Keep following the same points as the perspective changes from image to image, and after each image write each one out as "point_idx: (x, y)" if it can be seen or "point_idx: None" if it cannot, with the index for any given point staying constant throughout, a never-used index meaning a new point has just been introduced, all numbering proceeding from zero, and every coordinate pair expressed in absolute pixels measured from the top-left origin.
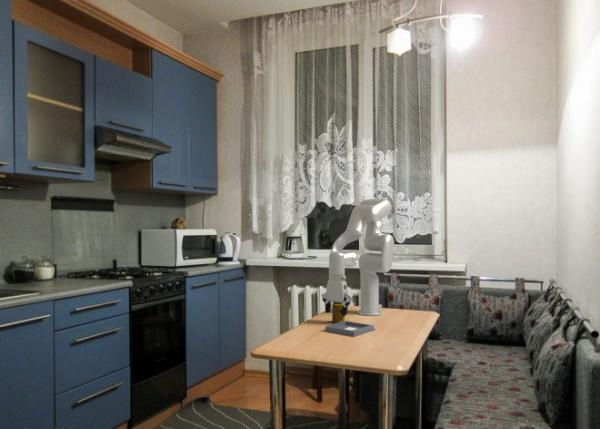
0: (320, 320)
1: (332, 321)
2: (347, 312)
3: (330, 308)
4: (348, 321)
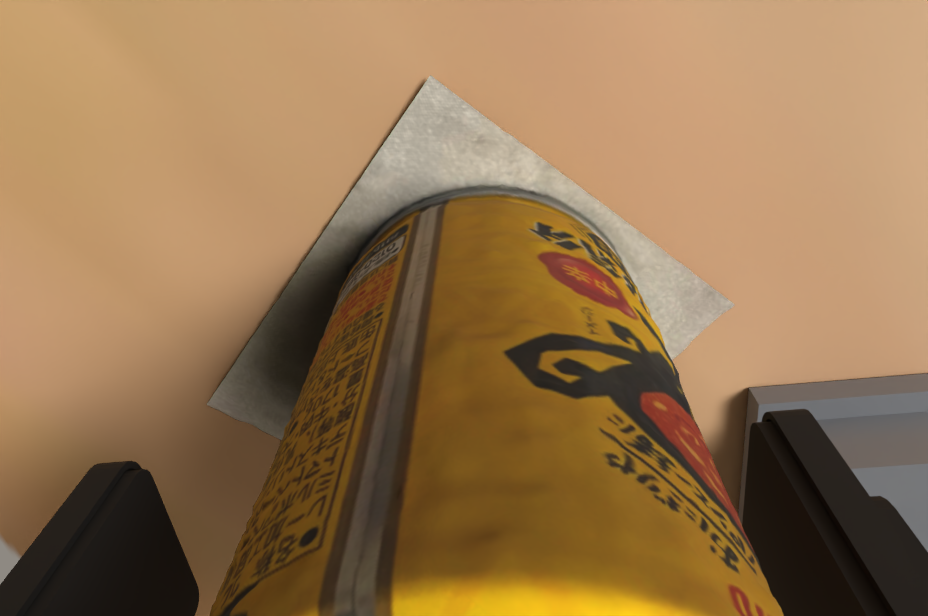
0: (62, 415)
1: (309, 333)
2: (893, 508)
3: (87, 559)
4: (915, 487)
